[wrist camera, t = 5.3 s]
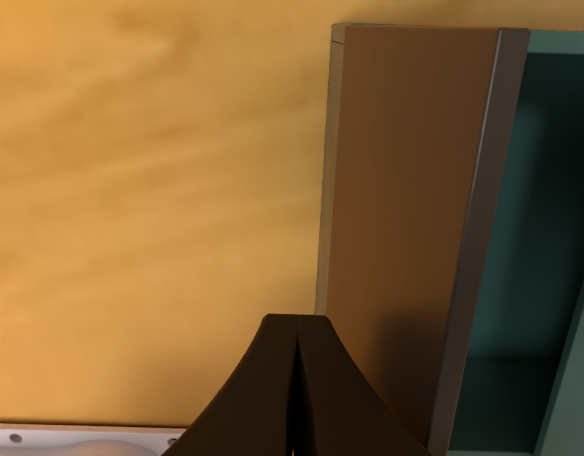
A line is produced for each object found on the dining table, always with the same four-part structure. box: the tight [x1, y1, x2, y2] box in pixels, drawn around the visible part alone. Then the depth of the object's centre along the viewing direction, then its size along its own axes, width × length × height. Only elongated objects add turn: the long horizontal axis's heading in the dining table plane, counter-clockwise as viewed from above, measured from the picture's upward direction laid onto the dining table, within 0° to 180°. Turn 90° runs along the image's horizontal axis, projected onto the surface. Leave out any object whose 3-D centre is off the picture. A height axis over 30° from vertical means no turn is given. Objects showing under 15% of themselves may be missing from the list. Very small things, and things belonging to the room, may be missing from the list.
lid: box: [326, 25, 531, 456], centre depth 10 cm, size 6×13×1 cm
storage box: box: [315, 23, 584, 456], centre depth 16 cm, size 13×13×6 cm
